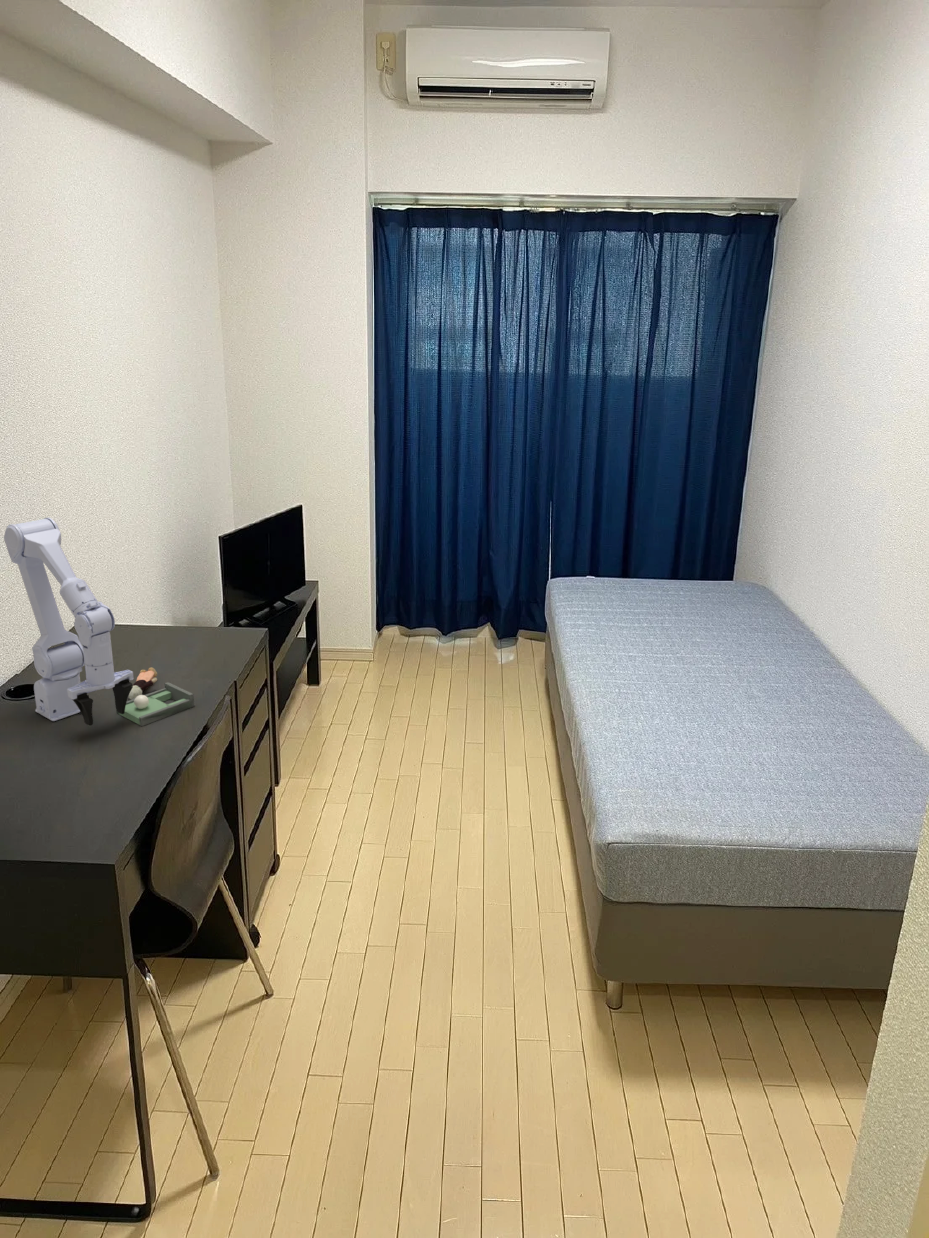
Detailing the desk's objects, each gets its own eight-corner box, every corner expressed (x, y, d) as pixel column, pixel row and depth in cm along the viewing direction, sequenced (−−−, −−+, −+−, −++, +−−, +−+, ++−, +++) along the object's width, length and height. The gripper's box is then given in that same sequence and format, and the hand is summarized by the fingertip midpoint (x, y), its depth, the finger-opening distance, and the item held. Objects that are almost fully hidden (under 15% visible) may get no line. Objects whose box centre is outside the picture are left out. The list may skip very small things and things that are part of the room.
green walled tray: (141, 726, 203) (140, 713, 202) (116, 713, 209) (115, 700, 207) (194, 706, 213) (193, 693, 212) (169, 694, 219) (168, 682, 218)
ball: (139, 712, 206) (138, 699, 205) (131, 708, 207) (130, 695, 206) (152, 708, 208) (151, 695, 207) (144, 703, 210) (143, 691, 209)
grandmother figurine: (141, 685, 227) (123, 709, 215) (133, 672, 226) (114, 695, 214) (167, 673, 226) (151, 697, 214) (159, 661, 225) (142, 684, 213)
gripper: (77, 676, 188) (84, 734, 193) (139, 657, 199) (144, 712, 204) (59, 667, 192) (66, 724, 197) (121, 648, 203) (126, 703, 208)
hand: (105, 718), depth 201 cm, fingers open, 7 cm apart
